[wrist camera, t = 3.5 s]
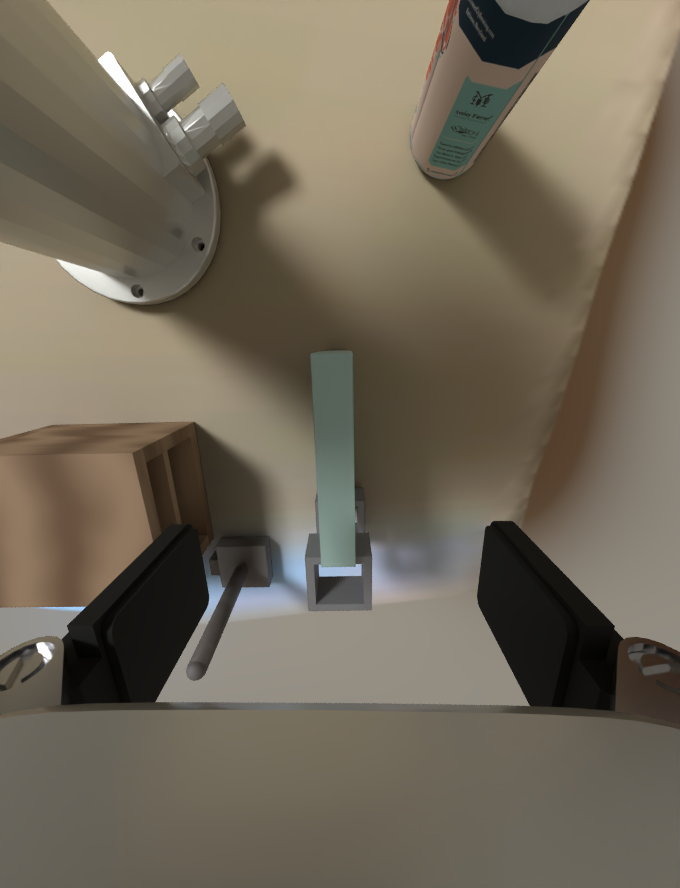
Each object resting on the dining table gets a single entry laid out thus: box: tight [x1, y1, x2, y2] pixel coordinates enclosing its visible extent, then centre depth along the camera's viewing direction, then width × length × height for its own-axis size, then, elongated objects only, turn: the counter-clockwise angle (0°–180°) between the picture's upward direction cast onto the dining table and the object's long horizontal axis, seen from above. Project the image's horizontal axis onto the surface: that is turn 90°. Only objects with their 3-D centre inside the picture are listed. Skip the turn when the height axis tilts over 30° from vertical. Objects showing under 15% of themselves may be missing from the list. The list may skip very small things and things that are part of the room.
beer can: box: [410, 0, 590, 180], centre depth 15 cm, size 5×5×12 cm
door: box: [305, 350, 372, 611], centre depth 22 cm, size 4×16×10 cm, turn 1°
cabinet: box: [0, 422, 273, 681], centre depth 23 cm, size 17×16×12 cm
